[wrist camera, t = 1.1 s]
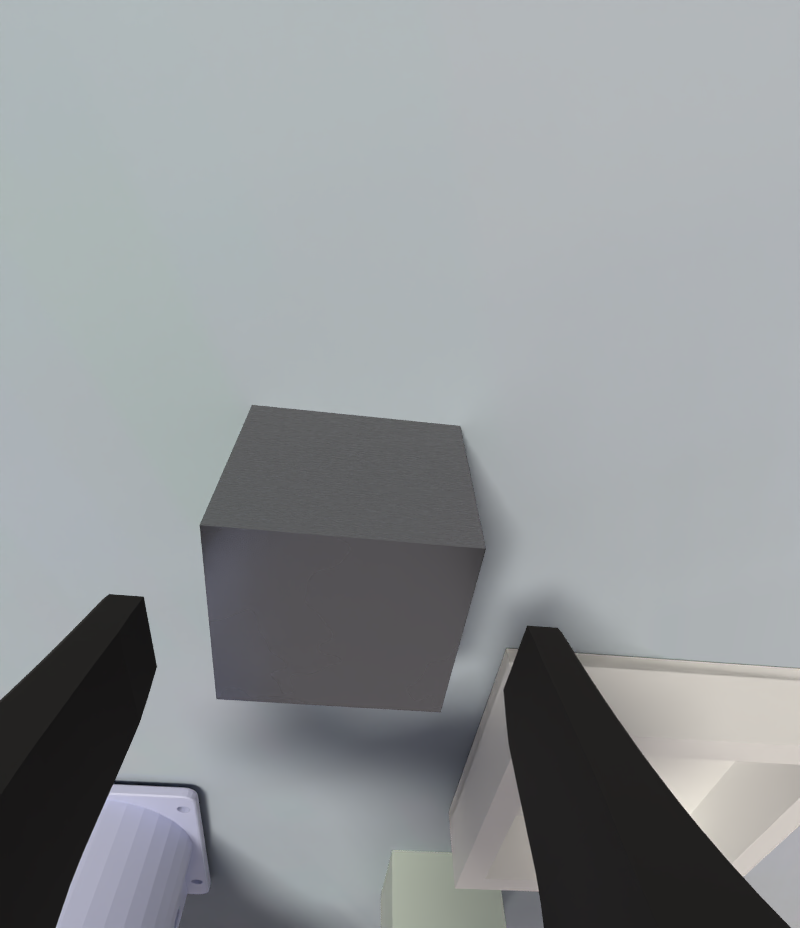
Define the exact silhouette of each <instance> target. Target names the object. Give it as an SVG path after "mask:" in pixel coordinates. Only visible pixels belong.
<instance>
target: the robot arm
mask: <svg viewBox="0 0 800 928" xmlns="http://www.w3.org/2000/svg"><path fill="white" fill-rule="evenodd" d="M156 668H157V665H156V660H155V655H154V649H153V644H152V639H151V633H150V628H149V623H148V617H147V612H146V607H145V601H144V597H139V596H126V595H113V594H109V595H108V596H106V597H105V598H104V599H103V600H102V601H101V602H100V603H99V604H98V605H97V606H96V607H95V608H94V609H93V610H92V611H91V612H90V613H89V614H88V615H87V616H86V617H85V618H84V619H83V620H82V621H81V622H80V623H79V624H78V625H77V626H76V627H75V628H74V629H73V630H72V631H71V632H70V633H69V634H68V635H67V636H66V637H65V638H64V639H63V640H62V641H61V642H60V643H59V644H58V645H57V646H56V647H55V648H54V649H53V650H52V651H51V652H50V653H49V654H48V655H47V656H46V657H45V658H44V659H43V660H42V661H41V662H40V663H39V664H38V665H37V666H36V667H35V668H34V669H33V670H32V671H31V672H30V673H29V674H28V675H26V676H25V677H24V678H23V679H22V680H21V681H20V682H19V683H18V684H17V685H16V686H15V687H14V688H13V689H12V690H11V691H10V692H9V693H8V694H7V695H5V696H4V697H3V698H2V699H1V700H0V928H179V925H180V921H181V917H182V913H183V909H184V905H185V901H186V897H187V894H205V893H207V892H208V891H209V889H210V884H211V879H210V873H209V866H208V859H207V853H206V846H205V839H204V833H203V826H202V819H201V813H200V806H199V799H198V794H197V793H196V791H194V790H193V789H190V788H185V787H164V786H143V785H122V784H113V783H114V781H115V779H116V777H117V774H118V772H119V770H120V767H121V765H122V763H123V760H124V758H125V756H126V753H127V751H128V749H129V746H130V744H131V742H132V740H133V737H134V735H135V732H136V730H137V728H138V725H139V723H140V720H141V717H142V714H143V711H144V708H145V704H146V701H147V698H148V695H149V692H150V688H151V685H152V681H153V678H154V675H155V671H156ZM503 692H504V703H505V715H506V725H507V734H508V743H509V749H510V754H511V759H512V764H513V768H514V773H515V778H516V783H517V788H518V792H519V797H520V802H521V806H522V811H523V816H524V821H525V825H526V830H527V835H528V839H529V844H530V849H531V853H532V858H533V863H534V868H535V872H536V878H537V884H538V889H539V895H540V901H541V908H542V916H543V924H544V928H791V927H790V926H789V925H788V924H787V923H786V922H785V921H784V920H783V919H782V918H781V917H780V916H779V915H778V914H777V913H776V912H775V911H774V910H773V909H772V908H771V907H770V906H769V905H768V904H767V903H766V902H765V901H764V900H763V898H762V897H761V896H760V895H759V894H758V893H757V892H756V891H755V890H754V889H753V888H752V887H751V885H750V884H749V883H748V882H747V881H746V880H745V879H744V878H743V876H742V875H741V874H740V873H739V872H738V871H737V870H736V869H735V868H734V866H733V865H732V864H731V863H730V862H729V861H728V860H727V859H726V858H725V856H724V855H723V854H722V853H721V852H720V850H719V849H718V848H717V847H716V846H715V845H714V843H713V842H712V841H711V840H710V839H709V838H708V836H707V835H706V834H705V833H704V832H703V831H702V829H701V828H700V827H699V826H698V825H697V823H696V822H695V821H694V820H693V818H692V817H691V816H690V815H689V814H688V812H687V811H686V810H685V809H684V807H683V806H682V805H681V804H680V802H679V801H678V800H677V799H676V797H675V796H674V795H673V793H672V792H671V791H670V789H669V788H668V787H667V786H666V784H665V783H664V782H663V780H662V779H661V778H660V776H659V775H658V774H657V772H656V771H655V770H654V769H653V767H652V766H651V765H650V763H649V762H648V760H647V759H646V758H645V756H644V755H643V754H642V752H641V751H640V750H639V748H638V747H637V745H636V744H635V742H634V741H633V740H632V738H631V737H630V735H629V734H628V732H627V731H626V730H625V728H624V727H623V725H622V724H621V723H620V721H619V720H618V718H617V717H616V715H615V714H614V713H613V711H612V710H611V708H610V707H609V705H608V704H607V702H606V701H605V699H604V698H603V696H602V695H601V693H600V692H599V690H598V689H597V687H596V685H595V684H594V682H593V681H592V679H591V678H590V676H589V675H588V673H587V672H586V670H585V669H584V667H583V665H582V664H581V662H580V661H579V659H578V658H577V656H576V654H575V653H574V651H573V650H572V648H571V646H570V645H569V643H568V642H567V640H566V639H565V637H564V635H563V634H562V632H561V631H560V630H559V629H558V628H551V627H538V626H527V628H526V631H525V633H524V636H523V639H522V641H521V644H520V647H519V649H518V652H517V655H516V657H515V660H514V663H513V665H512V668H511V671H510V673H509V676H508V679H507V681H506V684H505V687H504V689H503Z"/></svg>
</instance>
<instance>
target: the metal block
mask: <svg viewBox="0 0 800 928" xmlns="http://www.w3.org/2000/svg"><path fill="white" fill-rule="evenodd" d="M200 532H201V543H202V553H203V563H204V574H205V584H206V595H207V605H208V616H209V626H210V636H211V647H212V657H213V668H214V678H215V688H216V699H224V700H241V701H258V702H275V703H292V704H309V705H326V706H343V707H360V708H377V709H394V710H411V711H428V712H441V708H442V705H443V701H444V698H445V694H446V690H447V687H448V683H449V680H450V676H451V672H452V669H453V665H454V662H455V658H456V654H457V651H458V647H459V644H460V640H461V636H462V633H463V629H464V626H465V622H466V618H467V615H468V611H469V608H470V604H471V600H472V597H473V593H474V590H475V586H476V582H477V579H478V575H479V572H480V568H481V564H482V561H483V557H484V554H485V550H486V547H485V542H484V538H483V533H482V528H481V523H480V519H479V514H478V509H477V504H476V499H475V495H474V490H473V485H472V480H471V475H470V471H469V466H468V461H467V456H466V452H465V447H464V442H463V437H462V432H461V428H460V426H455V425H445V424H435V423H425V422H415V421H406V420H396V419H386V418H376V417H366V416H356V415H346V414H336V413H326V412H316V411H307V410H297V409H287V408H277V407H267V406H257V405H252V406H251V409H250V411H249V413H248V416H247V418H246V420H245V423H244V425H243V427H242V429H241V432H240V434H239V436H238V439H237V441H236V443H235V445H234V448H233V450H232V452H231V455H230V457H229V459H228V462H227V464H226V466H225V468H224V471H223V473H222V475H221V478H220V480H219V482H218V484H217V487H216V489H215V491H214V494H213V496H212V498H211V501H210V503H209V505H208V507H207V510H206V512H205V514H204V517H203V519H202V521H201V523H200Z"/></svg>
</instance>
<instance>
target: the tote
mask: <svg viewBox="0 0 800 928" xmlns="http://www.w3.org/2000/svg"><path fill="white" fill-rule="evenodd" d="M517 652H518V649H511V648H506V651H505V653H504V656H503V659H502V662H501V665H500V668H499V670H498V673H497V676H496V679H495V682H494V685H493V687H492V690H491V693H490V696H489V699H488V702H487V705H486V707H485V710H484V713H483V716H482V719H481V722H480V724H479V727H478V730H477V733H476V736H475V739H474V741H473V744H472V747H471V750H470V753H469V756H468V759H467V761H466V764H465V767H464V770H463V773H462V776H461V778H460V781H459V784H458V787H457V790H456V793H455V795H454V798H453V801H452V804H451V807H450V810H449V822H450V835H451V847H452V860H453V872H454V885H455V889H482V890H511V891H539V889H538V884H537V878H536V872H535V868H534V863H533V858H532V853H531V849H530V844H529V839H528V835H527V830H526V825H525V821H524V816H523V811H522V806H521V802H520V797H519V792H518V788H517V783H516V778H515V773H514V768H513V764H512V759H511V754H510V749H509V743H508V734H507V725H506V715H505V703H504V692H503V689H504V687H505V684H506V681H507V679H508V676H509V673H510V671H511V668H512V665H513V663H514V660H515V657H516V655H517ZM575 654H576V656H577V658H578V659H579V661H580V662H581V664H582V665H583V667H584V669H585V670H586V672H587V673H588V675H589V676H590V678H591V679H592V681H593V682H594V684H595V685H596V687H597V689H598V690H599V692H600V693H601V695H602V696H603V698H604V699H605V701H606V702H607V704H608V705H609V707H610V708H611V710H612V711H613V713H614V714H615V715H616V717H617V718H618V720H619V721H620V723H621V724H622V725H623V727H624V728H625V730H626V731H627V732H628V734H629V735H630V737H631V738H632V740H633V741H634V742H635V744H636V745H637V747H638V748H639V750H640V751H641V752H642V754H643V755H644V756H645V758H646V759H647V760H648V762H649V763H650V765H651V766H652V767H653V769H654V770H655V771H656V772H657V774H658V775H659V776H660V778H661V779H662V780H663V782H664V783H665V784H666V786H667V787H668V788H669V789H670V791H671V792H672V793H673V795H674V796H675V797H676V799H677V800H678V801H679V802H680V804H681V805H682V806H683V807H684V809H685V810H686V811H687V812H688V814H689V815H690V816H691V817H692V818H693V820H694V821H695V822H696V823H697V825H698V826H699V827H700V828H701V829H702V831H703V832H704V833H705V834H706V835H707V836H708V838H709V839H710V840H711V841H712V842H713V843H714V845H715V846H716V847H717V848H718V849H719V850H720V852H721V853H722V854H723V855H724V856H725V858H726V859H727V860H728V861H729V862H730V863H731V864H732V865H733V866H734V868H735V869H736V870H737V871H738V872H739V873H740V874H741V875H742V876H743V877H744V876H745V875H746V874H747V873H748V872H749V871H750V870H751V869H752V868H754V867H755V866H756V865H757V864H758V863H759V862H760V861H761V860H762V859H763V858H764V857H766V856H767V855H768V854H769V853H770V852H771V851H772V850H773V849H774V848H775V847H776V846H778V845H779V844H780V843H781V842H782V841H783V840H784V839H785V838H786V837H787V836H788V835H790V834H791V833H792V832H793V831H794V830H795V829H796V828H797V827H798V826H799V825H800V669H797V668H783V667H769V666H754V665H740V664H726V663H711V662H697V661H683V660H668V659H654V658H640V657H625V656H611V655H597V654H583V653H575Z"/></svg>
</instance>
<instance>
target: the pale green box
mask: <svg viewBox="0 0 800 928" xmlns="http://www.w3.org/2000/svg"><path fill="white" fill-rule="evenodd" d="M381 928H506V921H505V914H504V906H503V899H502V892H501V890H482V889H455V885H454V872H453V860H452V853H450V852H425V851H400V850H392V853H391V857H390V861H389V865H388V868H387V872H386V876H385V880H384V884H383V888H382V891H381Z"/></svg>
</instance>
